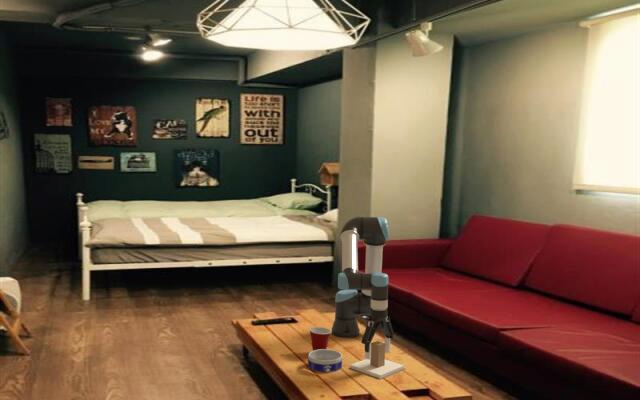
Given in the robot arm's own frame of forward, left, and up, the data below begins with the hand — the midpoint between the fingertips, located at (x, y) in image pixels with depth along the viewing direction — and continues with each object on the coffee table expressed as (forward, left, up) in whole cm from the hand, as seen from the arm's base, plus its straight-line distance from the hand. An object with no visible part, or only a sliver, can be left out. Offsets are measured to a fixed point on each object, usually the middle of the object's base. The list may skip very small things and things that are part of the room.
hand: (377, 355), depth 257 cm
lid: (0, 0, -6) cm, 6 cm away
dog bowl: (+15, -18, -7) cm, 24 cm away
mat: (0, 0, -7) cm, 7 cm away
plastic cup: (+4, -32, -7) cm, 33 cm away
